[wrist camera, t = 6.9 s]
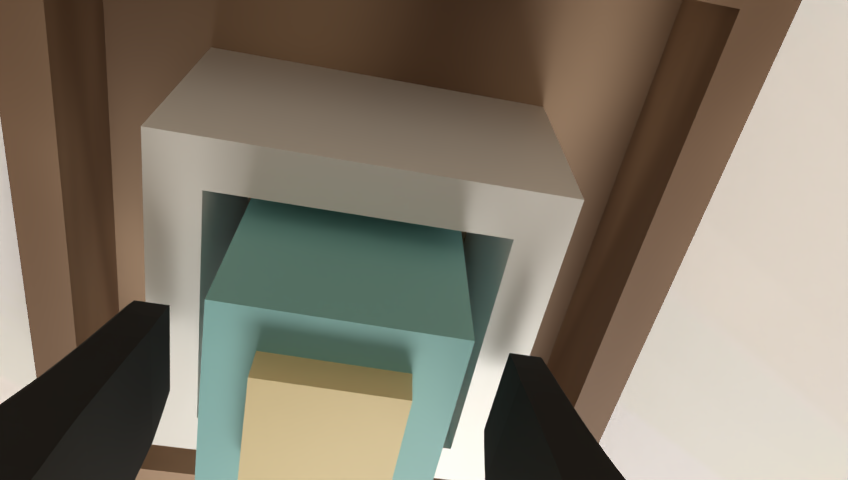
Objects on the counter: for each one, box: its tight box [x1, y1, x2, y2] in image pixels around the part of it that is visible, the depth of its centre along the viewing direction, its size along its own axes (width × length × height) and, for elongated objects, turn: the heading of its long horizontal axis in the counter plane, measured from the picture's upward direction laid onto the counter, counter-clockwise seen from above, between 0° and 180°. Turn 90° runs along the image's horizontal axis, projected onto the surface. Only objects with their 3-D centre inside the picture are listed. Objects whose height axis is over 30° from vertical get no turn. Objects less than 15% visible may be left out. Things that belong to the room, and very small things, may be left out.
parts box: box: [0, 0, 802, 480], centre depth 16 cm, size 14×16×3 cm
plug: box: [195, 198, 475, 480], centre depth 14 cm, size 4×4×8 cm
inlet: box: [141, 47, 584, 480], centre depth 15 cm, size 8×8×4 cm
